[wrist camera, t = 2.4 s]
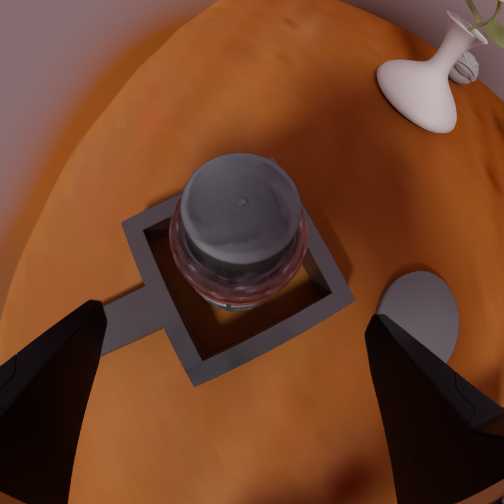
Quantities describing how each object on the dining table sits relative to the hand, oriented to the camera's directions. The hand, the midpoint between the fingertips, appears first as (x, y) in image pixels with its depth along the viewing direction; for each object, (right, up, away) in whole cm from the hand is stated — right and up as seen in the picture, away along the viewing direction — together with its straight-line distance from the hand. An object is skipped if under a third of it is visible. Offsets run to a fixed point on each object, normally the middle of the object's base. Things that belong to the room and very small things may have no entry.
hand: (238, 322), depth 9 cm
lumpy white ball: (+33, +30, +22) cm, 50 cm away
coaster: (+14, -4, +11) cm, 18 cm away
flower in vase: (+19, +19, +18) cm, 33 cm away
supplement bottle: (-1, +1, +11) cm, 11 cm away
